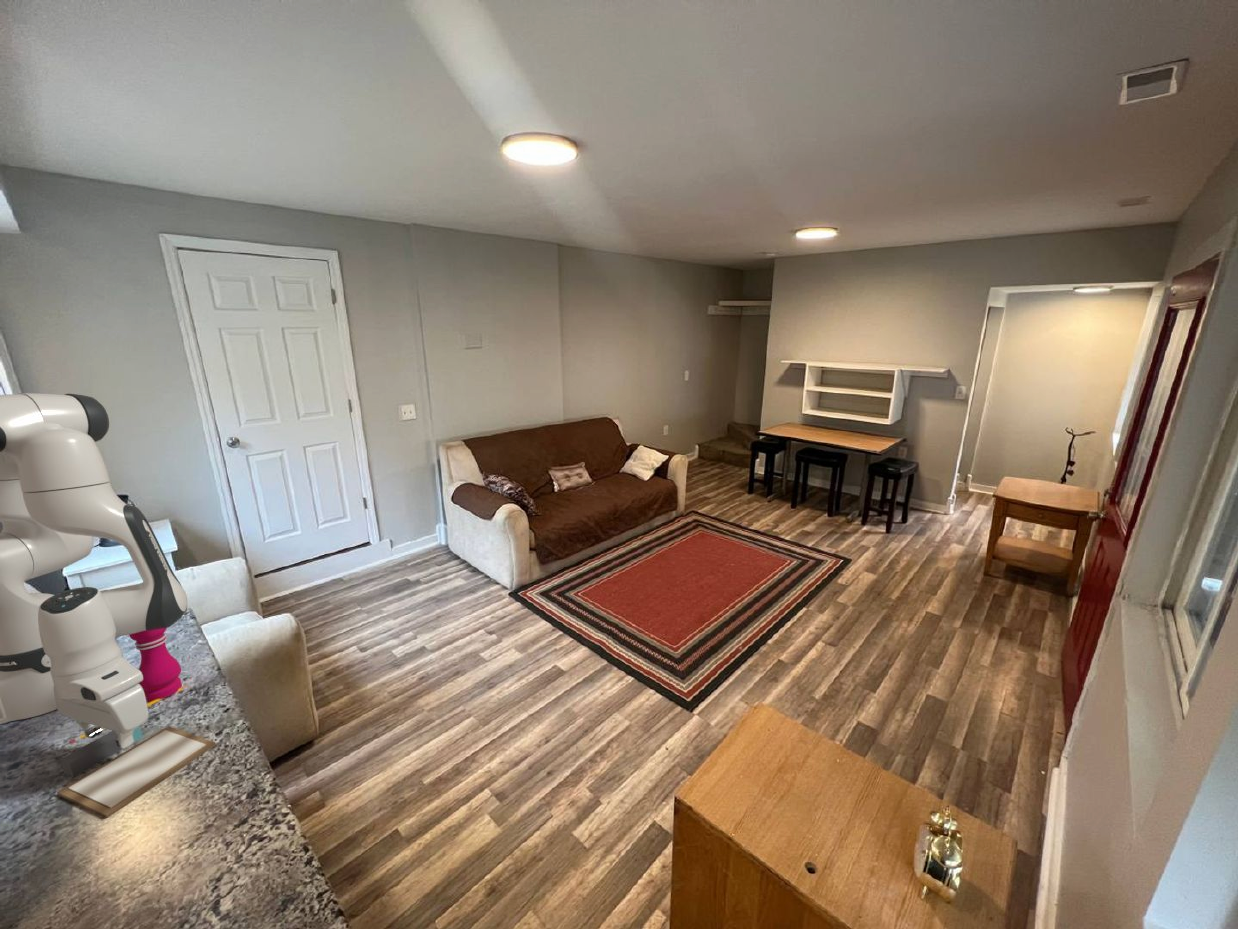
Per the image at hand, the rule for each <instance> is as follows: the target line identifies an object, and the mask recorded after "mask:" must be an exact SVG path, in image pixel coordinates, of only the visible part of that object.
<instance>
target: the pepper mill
mask: <svg viewBox="0 0 1238 929" xmlns="http://www.w3.org/2000/svg"><path fill="white" fill-rule="evenodd" d="M167 629H168V628H162V629H156V630H150V631H142V632H137V633H133V634H129V635H128V636H129V638H130V639H131V640H133V641H135V643H134V645H135V646H136V647H135V650H138V651H139V652H140V665H139V667H138V670H140V671H141V673H142V675H143V681H141V682H139V683H138V684H140V685H141V687H142V688H143V691H144V694H145V698H146V702H151V701H154V700H156V699H162V700H164V699H166V698H168V697H170V696H172V695H174V694H177V693H178V692H179V691H178V689H179V688H181V687H183V686H182V685H183V684H182V680H181V678H180V677H179V676H180V674H181V673H182V667H181V665H180V663H179V661H178V660H177V659H176V658H174V657H173V656H172V654H171V653H170V652H169V651H168V648H167V646H166V645H167V644H166V642H167V640H168V637H167V633H165V632H166V631H167ZM177 691H178V692H177ZM163 698H164V699H163Z"/></svg>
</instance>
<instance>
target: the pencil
mask: <svg viewBox="0 0 1238 929" xmlns="http://www.w3.org/2000/svg"><path fill="white" fill-rule="evenodd" d="M189 686H190V684H188V685H184V686H182V687H181V688H179V689H178V691H177V692H176V693H178V692H180V691H182V690H184V689H186V688H187V687H189ZM164 699H165V698H163V699H156V700H154V701H148V702H147V707H149V706H153V704H156V703H157V702H160V701H162V700H164ZM101 729H102V730H103V728H102V727H101ZM83 738H87V737H86V736H85V733H84V734H81V735H79V736H77V737H75V738H73V739H71V740H69V741H68V742H69V744H71V745H72V744H73V743H76V742H78V741H79V740H82V739H83Z"/></svg>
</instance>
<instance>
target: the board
mask: <svg viewBox="0 0 1238 929" xmlns="http://www.w3.org/2000/svg"><path fill="white" fill-rule="evenodd" d="M215 746H216V742H215V741H212V740H209V739H206V738H203V737H201V736H197V735H195V734H192V733H189V732H187V731H183V730H181V729H177V728H175V727H171V726H169V725H168V726H167V727H165V728H163V729H162V730H160V731H158V732H156V733H155V734H153V735H151V736H149V737H148V738H146V739H145V740H143V741H141V742H140V743H138V744H136V745H135V746H133V747H130V749H128V750H126V751H124V752H122V753H121V754H119V755H117V756H116V757H114V758H113V759H111V760H109V761H108V762H106V763H104V764H102V765H100V766H99V767H97V768H96V769H94V770H92V771H90V772H89V773H87V774H85V775H84V776H81V777H80V778H79V779H76V780H75V781H74V782H73V781H72V783H70V784H68V785H66V786H65V787H63V788H62V789H60V790H58V791H56V793H57V795H58V796H59V797H61V798H64V799H66V800H68V801H71V802H72V803H74V804H76V805H79V806H80V807H83V808H84V809H86V810H89V811H91V812H94V813H95V814H98V815H100V816H101V817H104V818H106V819H108V818H109V817H112V815H114V814H115V813H117V812H118V811H120V810H121V809H123V808H124V807H126V806H127V805H129V804H131V802H133V801H135V800H136V799H138V798H140V796H142V795H144V794H145V793H147V792H148V791H150V790H151V789H152V788H154V787H156V786H157V785H158V784H160V783H162V782H163V781H165V780H166V779H167V778H169V777H170V776H172V775H173V774H175V773H176V772H178V771H179V770H181V769H182V768H184V767H186V766H187V765H188V764H190V763H191V762H193V761H194V760H196V759H197V758H199V757H200V756H202V755H203V754H205V753H206V752H209V751H210V749H212V748H214V747H215Z"/></svg>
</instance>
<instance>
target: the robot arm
mask: <svg viewBox="0 0 1238 929" xmlns="http://www.w3.org/2000/svg"><path fill="white" fill-rule="evenodd" d="M109 419H110V418H109V415H108V412H107V410H106V408H105V406H104V405H102V404H101V403H100V402H99V401H98V400H97V399H95V398H94V397H92V396H88V395H83V394H77V393H64V394H60V393H59V394H58V393H38V392H37V393H36V392H28V393H27V392H20V393H15V394H13V393H11V394H0V523H1V524H2V530H1V532H0V725H3V724H6V723H9V722H13V721H19V720H25V719H31V718H35V717H38V716H42V715H44V714H47V713H51V712H52V711H53V712H54V711H55V710H57V711H58V712H59V714H60V715H61V716H62V717H66V718H69V719H73V720H75V721H76V723H77V724H78V725H79V727H80V728H81V729H82V730H83V732H84V734H85V736H86V737H85V738H89V739H94V738H96V737H97V736H99V735H101V734H102V732H103V729H105V730H109V731H115V732H116V734H118V738H117V739H116V740H115V741H116V743H117V746H118V747H120V748H123V749H126V748H128V747H130V745H132V744H134V743H135V742H134V739H133V736H132V734H133V731H134V729H136V728H138V727H139V726H140V727H142V726H143V725H144V724H145V723H147V721H148V719H149V708H148V707H149V706H148V707H147V703H148V701H146V698H145V694H144V689H143V688H142V687H141V685H140V684H138V683H139V682H141V681H143V675H142V673H141V671H140V670H139V668H136V667H135V666H134V665H132V664H131V663H130V662H129V661H128V660H127V658H126V657H124V654H123V650H122V647H121V646H120V645H119V644H118V642H117V639H116V638H119V637H124V636H129V634H133V633H137V632H142V631H150V630H156V629H162V628H167V629H168V628H171V626H173V625H174V624H176V623H177V622H178V621H179V620H181V618H182V617H183V616H184V615H185V613H186V612H187V611H188V596H187V594H186V591H185V589H184V588H183V586H182V584H181V581H179V580H178V578H177V576H176V575H175V573H174V571H173V569H172V568H171V566H170V564H169V562H168V560H167V557H166V555H165V553H164V550H163V549H162V547H161V544H160V543H159V540H158V539H157V536H156V535H155V532H154V530H153V529H152V527H151V525H150V522H149V521H148V520H147V518H146V516H145V515H144V513H143V512H142V511H141V509H139V508H138V507H137V506H134V505H130V504H127V503H126V502H125V501H123V500H122V499H121V498H120V497H119V496H118V495H117V493H116V492H115V491H114V489H113V487H112V484H111V480H110V476H109V472H108V469H107V466H106V463H105V461H104V458H103V456H102V454H101V452H100V450H99V447H98V445H97V443H96V442H99V441H101V440H102V439H103V438H104V437H105V436H106V435H107V434H108V432H109V429H110V420H109ZM94 537H95V538H101V539H107V540H110V541H113V542H116V543H118V544H120V545H121V546H123V547H124V548H125V549H126V550H127V552H128V553H129V556H130V558H131V560H132V562H133V564H134V566H135V568H136V570H137V572H138V574H139V576H140V577H141V580H142V582H140V583H136V584H131V585H125V586H121V587H116V588H111V589H103V590H100V589H98V588H97V587H92V586H84V587H83V586H82V587H75V588H72V589H68V590H67V589H66V590H64V591H62V592H59V593H56V594H51V593H42V592H41V593H40V592H37V593H35V592H29V591H27V589H26V587H25V582H26V581H28V580H31V579H35V578H37V577H40V576H41V577H42V576H43V575H46V574H51V573H53V572H56V571H60V570H63V569H65V568H67V567H69V566H71V565H74V564H75V563H77V562H79V561H81V560H83V559H85V558H87V557H88V556H89V555H90V554H91V552H92V550H93V548H94V543H95V542H94ZM101 727H102V729H101ZM133 742H134V743H133Z"/></svg>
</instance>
